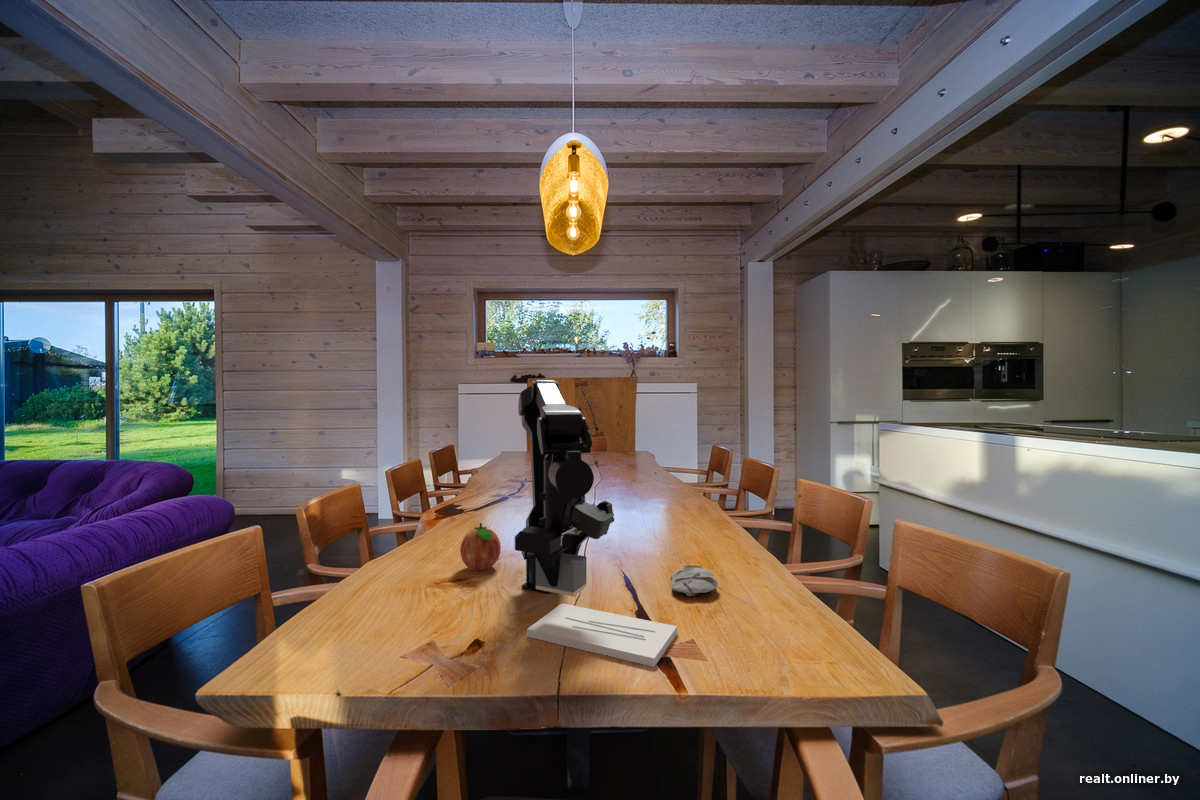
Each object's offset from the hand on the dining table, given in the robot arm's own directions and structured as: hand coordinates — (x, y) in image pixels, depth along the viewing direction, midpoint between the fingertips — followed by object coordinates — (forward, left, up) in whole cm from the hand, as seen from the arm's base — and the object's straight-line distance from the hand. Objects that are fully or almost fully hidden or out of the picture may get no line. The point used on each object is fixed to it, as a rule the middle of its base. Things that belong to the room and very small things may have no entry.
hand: (561, 581), depth 83 cm
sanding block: (0, 0, -1) cm, 1 cm away
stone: (+15, +26, -8) cm, 31 cm away
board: (+8, 0, -7) cm, 11 cm away
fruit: (-30, +17, -8) cm, 35 cm away
